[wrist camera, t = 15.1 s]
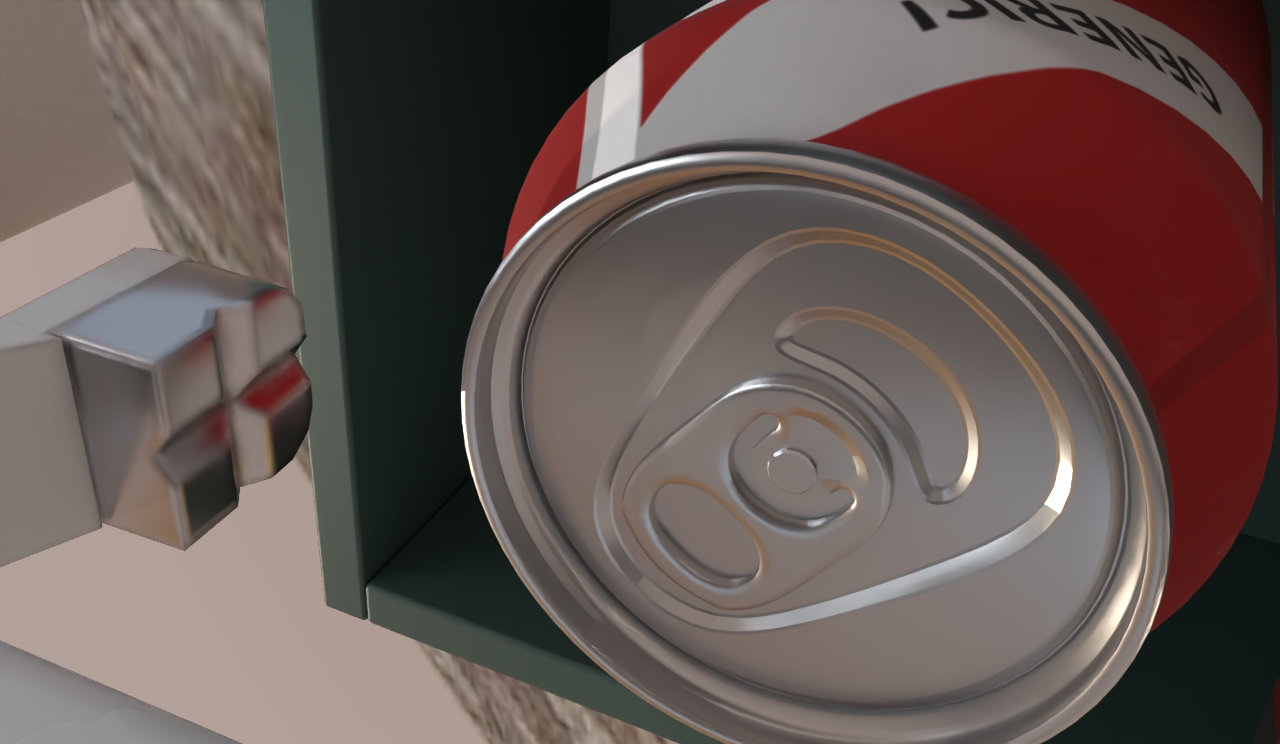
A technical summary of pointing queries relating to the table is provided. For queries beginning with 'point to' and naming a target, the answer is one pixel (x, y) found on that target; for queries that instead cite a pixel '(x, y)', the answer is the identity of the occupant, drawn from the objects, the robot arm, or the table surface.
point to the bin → (444, 312)
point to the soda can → (886, 358)
